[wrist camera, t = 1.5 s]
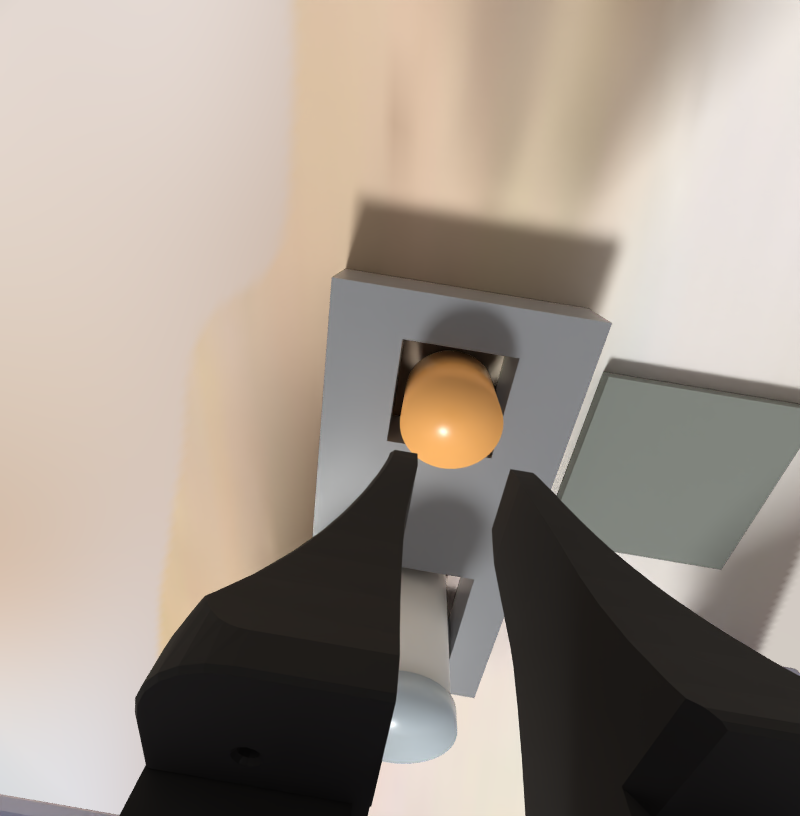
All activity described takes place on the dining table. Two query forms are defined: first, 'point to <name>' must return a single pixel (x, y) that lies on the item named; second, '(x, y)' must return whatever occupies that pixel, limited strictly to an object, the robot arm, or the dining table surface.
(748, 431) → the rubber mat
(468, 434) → the release plunger
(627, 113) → the dining table surface
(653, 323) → the dining table surface
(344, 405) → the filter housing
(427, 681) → the cylinder
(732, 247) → the dining table surface
